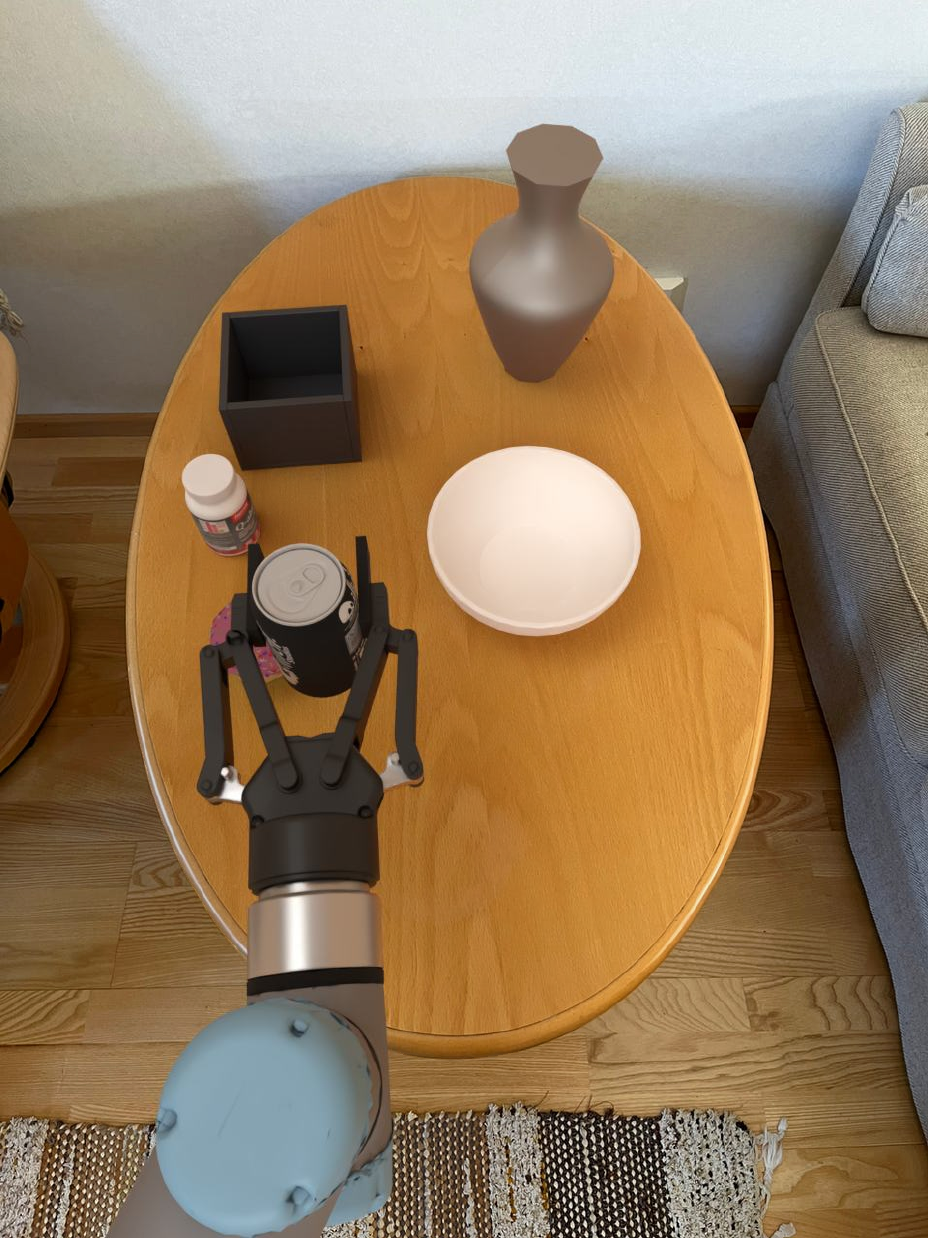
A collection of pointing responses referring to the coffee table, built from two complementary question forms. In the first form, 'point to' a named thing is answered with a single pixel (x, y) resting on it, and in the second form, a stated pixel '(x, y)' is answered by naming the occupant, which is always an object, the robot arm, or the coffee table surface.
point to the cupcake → (262, 654)
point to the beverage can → (309, 618)
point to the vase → (543, 256)
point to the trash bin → (289, 387)
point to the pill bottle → (220, 505)
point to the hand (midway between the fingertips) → (310, 550)
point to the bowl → (533, 540)
